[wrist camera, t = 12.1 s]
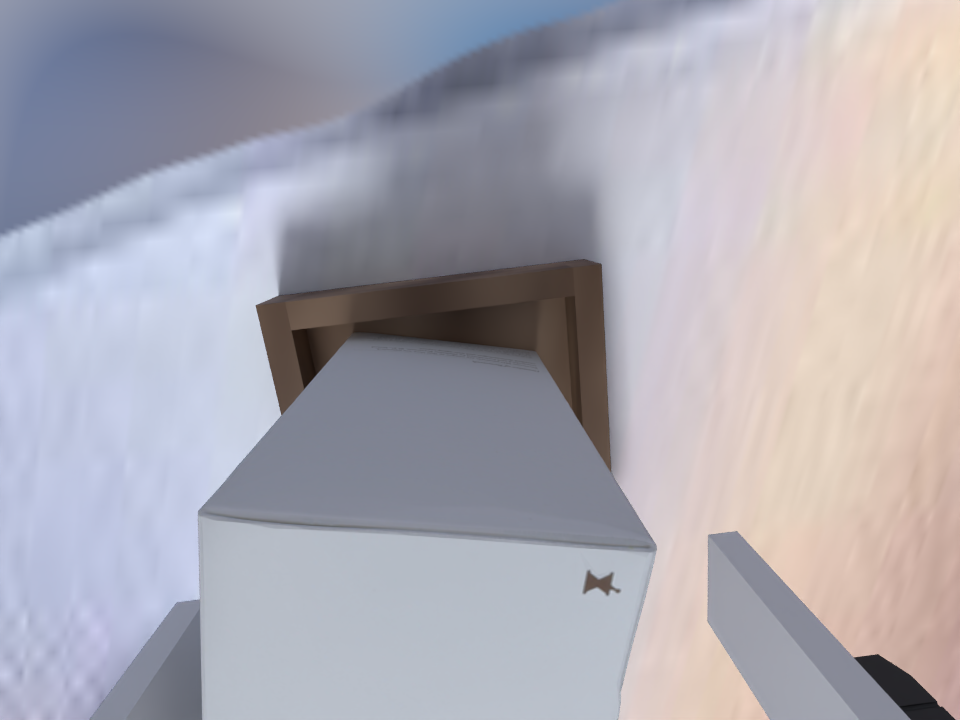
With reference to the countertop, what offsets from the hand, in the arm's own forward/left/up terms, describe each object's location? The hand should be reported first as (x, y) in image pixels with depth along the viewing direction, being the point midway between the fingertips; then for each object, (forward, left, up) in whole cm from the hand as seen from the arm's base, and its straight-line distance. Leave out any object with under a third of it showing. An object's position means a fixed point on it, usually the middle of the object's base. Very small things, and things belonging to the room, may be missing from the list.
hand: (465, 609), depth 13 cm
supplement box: (+1, 0, -12) cm, 12 cm away
